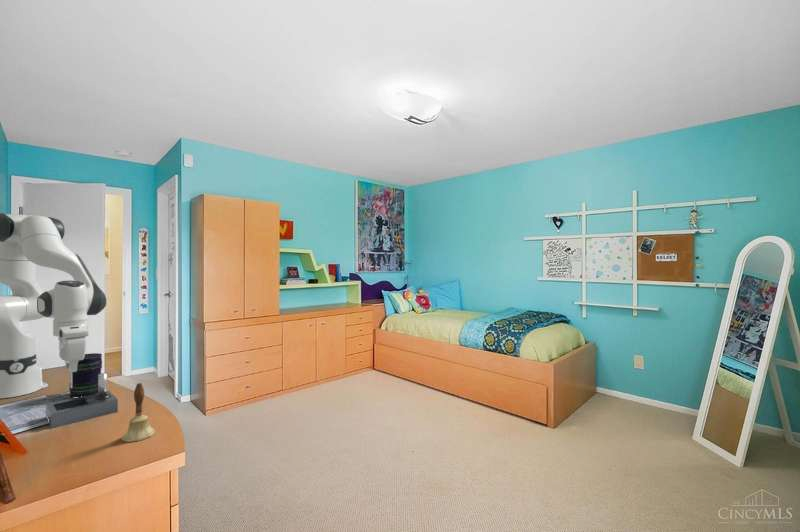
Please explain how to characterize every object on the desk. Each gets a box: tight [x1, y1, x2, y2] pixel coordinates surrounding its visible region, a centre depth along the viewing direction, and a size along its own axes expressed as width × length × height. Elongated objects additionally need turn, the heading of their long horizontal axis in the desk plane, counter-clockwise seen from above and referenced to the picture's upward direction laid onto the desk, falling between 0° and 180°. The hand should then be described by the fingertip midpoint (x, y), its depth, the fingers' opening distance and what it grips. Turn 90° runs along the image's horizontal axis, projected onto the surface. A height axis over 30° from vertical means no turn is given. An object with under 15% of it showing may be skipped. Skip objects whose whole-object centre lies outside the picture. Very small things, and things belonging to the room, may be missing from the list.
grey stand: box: [45, 372, 119, 429], centre depth 126 cm, size 17×12×13 cm
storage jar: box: [68, 352, 103, 398], centre depth 145 cm, size 10×10×15 cm
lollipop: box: [59, 347, 72, 388], centre depth 123 cm, size 6×6×15 cm
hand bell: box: [121, 382, 156, 443], centre depth 112 cm, size 8×8×16 cm
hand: (71, 369), depth 123 cm, fingers closed on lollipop, 5 cm apart
